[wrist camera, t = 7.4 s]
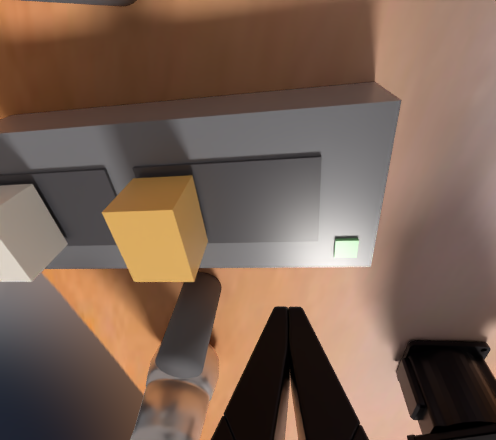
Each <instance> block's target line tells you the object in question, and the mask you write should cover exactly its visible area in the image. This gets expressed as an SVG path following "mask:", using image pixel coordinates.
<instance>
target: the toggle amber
mask: <svg viewBox="0 0 496 440" xmlns="http://www.w3.org/2000/svg"><path fill="white" fill-rule="evenodd" d="M102 214H103V216H104V218H105V221H106V223H107V225H108V227H109V229H110V231H111V233H112V236H113V238H114V240H115V242H116V244H117V246H118V248H119V251H120V253H121V255H122V257H123V259H124V261H125V263H126V266H127V268H128V270H129V272H130V274H131V276H132V278H133V281H134V282H194V281H195V278H196V275H197V272H198V269H199V266H200V263H201V260H202V257H203V254H204V251H205V248H206V246H207V243H208V239H207V235H206V231H205V227H204V222H203V218H202V214H201V210H200V205H199V201H198V197H197V193H196V188H195V184H194V180H193V176H192V175H189V176H170V177H151V178H133V179H132V180H131V181H130V182H129V183H128V185H127V186H126V187H125V188H124V189H123V190H122V191H121V192H120V193H119V194H118V195H117V196H116V198H115V199H114V200H113V201H112V202H111V203H110V204H109V205H108V206H107V207H106V208H105V209H104V210H103V212H102Z"/></svg>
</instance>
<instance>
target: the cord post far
mask: <svg viewBox="0 0 496 440" xmlns="http://www.w3.org/2000/svg"><path fill="white" fill-rule="evenodd" d="M220 293H221V284H220V282H219V281H218V280H217V279H216V278H215V277H214V276H212V275H210V274H207V273H202V272H197V275H196V278H195V281H194V282H184V284H183V287H182V289H181V292H180V295H179V297H178V300H177V303H176V305H175V308H174V311H173V313H172V316H171V319H170V322H169V324H168V327H167V330H166V332H165V335H164V338H163V340H162V343H161V346H160V348H159V351H158V354H157V356H156V359H155V364H156V366H157V367H158V368H159V369H160V370H161V371H162V372H164V373H166V374H168V375H170V376H173V377H177V378H195V377H197V376H199V375H201V373H202V372H203V367H204V363H205V359H206V354H207V350H208V345H209V341H210V337H211V332H212V328H213V323H214V319H215V315H216V310H217V306H218V302H219V297H220Z"/></svg>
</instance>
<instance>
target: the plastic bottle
mask: <svg viewBox="0 0 496 440" xmlns="http://www.w3.org/2000/svg"><path fill="white" fill-rule="evenodd" d="M160 346H161V345H160ZM160 346H159V348H160ZM159 348H158V349H157V351H156V353H155V354H154V356H153V358H152V360H151V363H150V367H149V371H148V376H147V382H146V390H145V393H144V397H143V401H142V404H141V408H140V411H139V415H138V418H137V422H136V426H135V429H134V431H133V434H132V436H131V439H130V440H200V436H201V432H202V429H203V425H204V421H205V417H206V413H207V409H208V406H209V401H210V400H211V398H212V395H213V393H214V390H215V387H216V383H217V380H218V376H219V359H218V356H217V354H216V352H215V350H214V348H213V347H212V346H211V345H210V344H209V345H208V350H207V354H206V359H205V363H204V367H203V372H202V373H201V375H199V376H197V377H195V378H177V377H173V376H170V375H168V374H166V373H164V372H162V371H161V370H160V369H159V368H158V367H157V366H156V364H155V359H156V356H157V354H158V351H159Z"/></svg>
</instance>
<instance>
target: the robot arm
mask: <svg viewBox="0 0 496 440" xmlns="http://www.w3.org/2000/svg"><path fill="white" fill-rule="evenodd" d="M489 351H490V347H489V346H488V344H487V343H482V342H446V341H410V342H409V343H408V345H407V348H406V351H405V353H404V356H403V358H402V359H401V361H400V364H399V367H398V370H397V378H398V381H399V383H400V386H401V389H402V392H403V395H404V398H405V402H406V405H407V408H408V411H409V414H410V417H411V418H412V419H413V420H418V422H419V425H420V429H421V432H422V435H416V436H415V435H407V439H408V440H496V379H495V377H494V376H493V374H492V372H491V371H490V369H489V367H488V365H487V364H486V362H485V360H484V359H485V358H486V356H487V355H488V353H489ZM290 380H291V389H292V397H293V404H294V411H295V418H296V426H297V433H298V440H369V439H368V437H367V435H366V433H365V431H364V429H363V427H362V426H361V425H359V424H360V421H359V419H358V417H357V415H356V413H355V411H354V409H353V407H352V405H351V403H350V402H349V400H348V398H347V396H346V394H345V392H344V390H343V388H342V386H341V384H340V382H339V380H338V378H337V376H336V374H335V372H334V370H333V368H332V366H331V364H330V362H329V360H328V358H327V356H326V354H325V352H324V350H323V348H322V346H321V344H320V342H319V340H318V338H317V336H316V334H315V332H314V330H313V328H312V326H311V324H310V322H309V320H308V318H307V316H306V314H305V312H304V310H303V309H302V308H301V307H289V308H287V307H275V308H274V309H273V311H272V313H271V315H270V317H269V319H268V321H267V323H266V325H265V328H264V330H263V332H262V334H261V336H260V338H259V340H258V342H257V344H256V346H255V349H254V351H253V353H252V355H251V357H250V359H249V361H248V363H247V365H246V368H245V370H244V372H243V374H242V376H241V378H240V380H239V382H238V384H237V386H236V389H235V391H234V393H233V395H232V397H231V399H230V401H229V403H228V405H227V407H226V410H225V412H224V416H222V418H221V420H220V422H219V424H218V426H217V428H216V430H215V432H214V434H213V436H212V438H211V440H285V431H286V420H287V409H288V398H289V386H290Z"/></svg>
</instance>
